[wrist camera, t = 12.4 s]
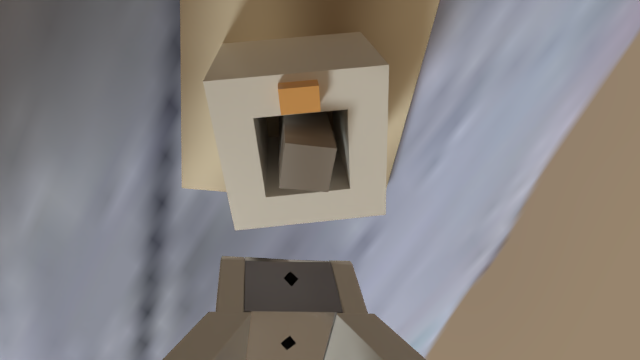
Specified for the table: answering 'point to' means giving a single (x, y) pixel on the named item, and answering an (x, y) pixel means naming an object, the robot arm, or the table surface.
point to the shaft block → (308, 128)
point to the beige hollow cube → (297, 98)
